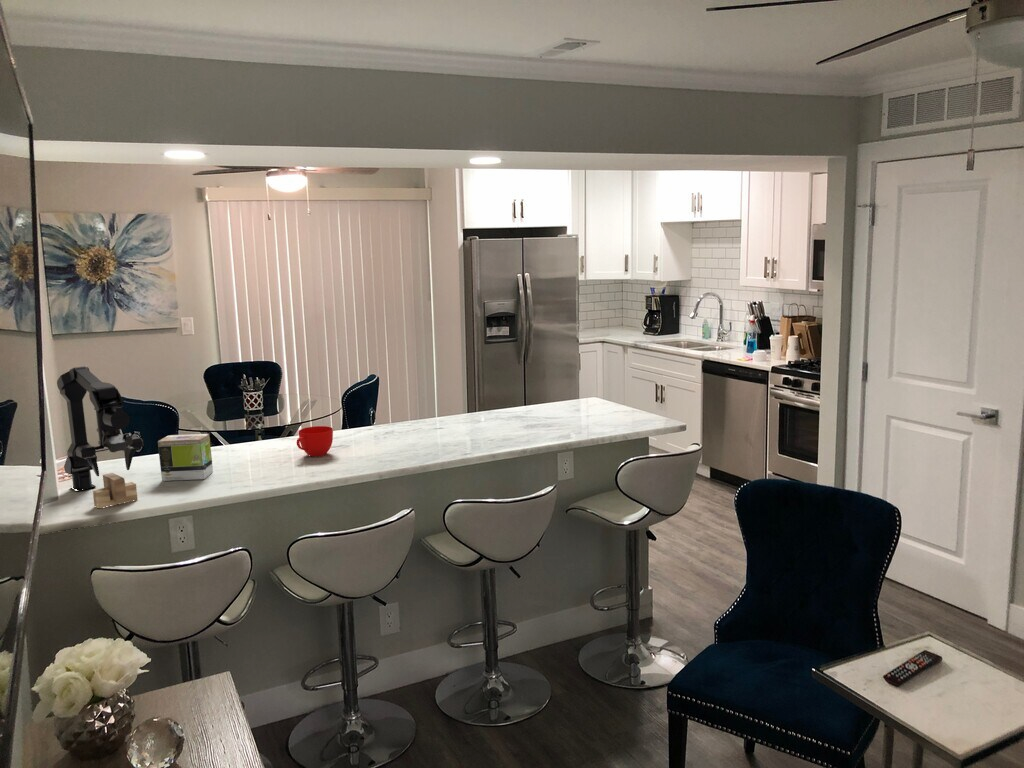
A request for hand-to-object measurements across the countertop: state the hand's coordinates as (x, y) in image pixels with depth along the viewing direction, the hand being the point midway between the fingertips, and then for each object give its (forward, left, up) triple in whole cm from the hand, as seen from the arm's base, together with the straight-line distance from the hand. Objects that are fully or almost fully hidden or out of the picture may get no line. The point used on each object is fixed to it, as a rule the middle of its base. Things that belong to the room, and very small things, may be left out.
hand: (113, 473), depth 256 cm
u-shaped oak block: (0, 0, -10) cm, 10 cm away
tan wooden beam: (0, 0, -8) cm, 8 cm away
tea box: (-12, +29, -11) cm, 33 cm away
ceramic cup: (-1, +74, -10) cm, 75 cm away
